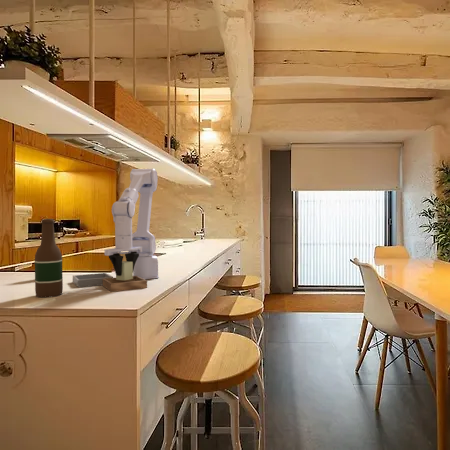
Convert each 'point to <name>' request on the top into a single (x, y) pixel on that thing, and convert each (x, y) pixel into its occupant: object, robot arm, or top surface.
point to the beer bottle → (48, 264)
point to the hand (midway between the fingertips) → (124, 274)
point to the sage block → (126, 271)
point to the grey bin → (90, 279)
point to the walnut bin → (124, 284)
